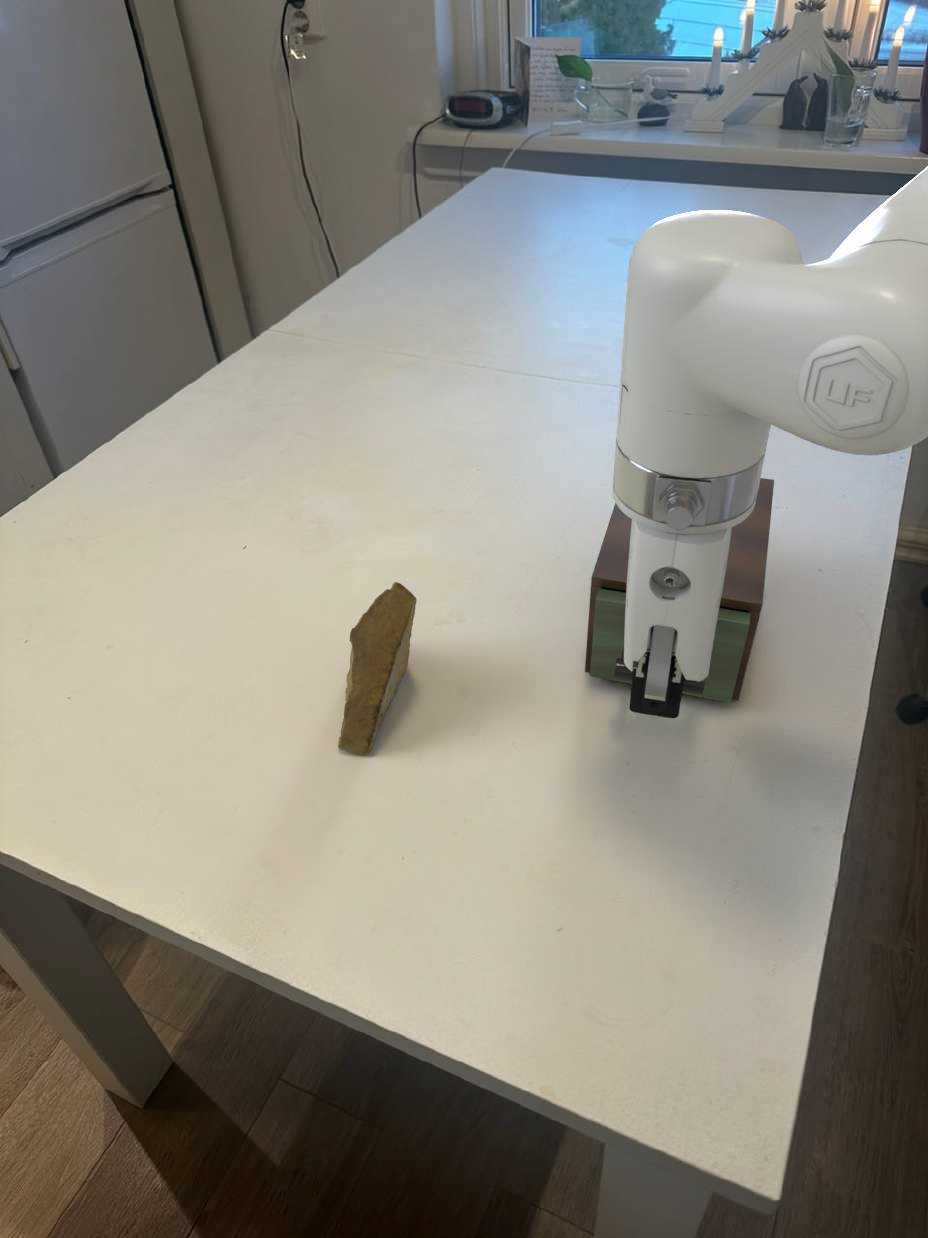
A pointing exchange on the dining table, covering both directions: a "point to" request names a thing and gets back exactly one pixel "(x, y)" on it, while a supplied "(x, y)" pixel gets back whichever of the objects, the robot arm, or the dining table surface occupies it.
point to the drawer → (715, 686)
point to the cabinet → (740, 575)
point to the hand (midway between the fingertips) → (654, 706)
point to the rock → (376, 665)
